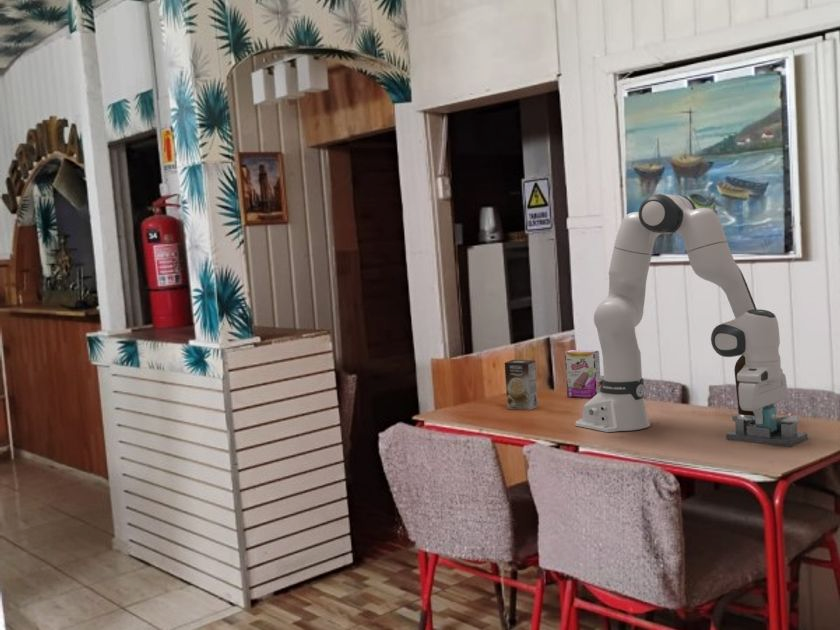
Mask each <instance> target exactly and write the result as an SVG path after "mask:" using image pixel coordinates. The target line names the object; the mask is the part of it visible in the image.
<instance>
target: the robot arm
mask: <svg viewBox="0 0 840 630" xmlns="http://www.w3.org/2000/svg"><path fill="white" fill-rule="evenodd" d="M661 234H664V235H667V234H677V235H679V236H680V237H681V239H682V241H683V243H684V247H685V250H686V253H687V258H688V262H689V264H690V267H691V268H692V270H693V272H694V274H695V275H696V276H698V277H699V278H701V279H703V280H705V281H707V282H710V283H712V284H715V285H716V286H718V287H720V288H721V290H722V291H724V294H725V295H726V298H727V301H728V302H729V306H730V308H731V311H732V314H733V316H734V319H732V320H729V321H726V322H723V323H720V324H718V325H716V326H715V327H714V328H713V329H712V331H711V336H710V343H711V346H712V349H713V350H714V352H715V353H716V354H717V355H719V356H721V357H722V358H723V357H724V358H726V357H727V358H734V357H741V356H742V355H743V356H745V365H744V367H743V368H742V369H741V370H740V371H739V372H738V374H737V380H738V381H741V382H740V383H739V404H740V407H741V409H742V410H745V411H753V413H754V415H755V417H756V423H757V424H763V423H764V422H765V417H763V414H762V411H763V407H765V406H768V407H776V408H777V403H778V402H781V401H783V400H784V401H785V399H787V397H788V384H787V377H786V375H785V373H784V372H783V369H782V367H781V356H780V351H779V348H780V342H781V341H780V327H779V322H778V321H779V320H778V318H777V316H776V314H775V313H773V312H772V311H770V310H765V309H761V308H760V309H759V308H757V307H756V306H757V305H756V304H755V301H754V299H753V297H752V293H751V291H750V289H749V285H748V283H747V281H746V279H745V276H744V274H743V271H742V270H741V268H740V267H739V266H738V264H737V262H736V261H735V259H734V256H733V255H732V252H731V249H730V246H729V243H728V240H727V236H726V233H725V231H724V228H723V225H722V223H721V220H720V219H719V217H718V214H717V213H716V212H715V211H714V210H713V209H711V208H707V207H698V208H697V207H696V205H695V203H694V202H693V201H692V200H691V199H690V198H688V197H687V196H684V195H679V194H675V193H674V194H673V193H664V194H662V193H661V194H659V193H658V194H654V195H651V196H648V197H647V198H646V199H644V201H642V202H641V204H640V206H639V209H638V211H634V212H629V213H627V214H626V215H625V216H624V217H623V219H622V221H621V223H620V226H619V228H618V231H617V234H616V238H615V240H614V246H613V250H612V255H611V258H610V263H609V267H608V268H609V270H608V278H609V279H608V281H609V282H608V294H607V298H606V299H605V300H603V301H601V302H600V303H599V305H598V306H597V308H596V309H595V311H594V313H593V322H594V325H595V327H596V330H597V335H598V341H599V344H600V349H601V355H602V365H603V366H602V367H603V370H602V371H603V379H602V380H601V382H598V383H599V384H598V383H597V384H598V385H597V386H601V387H600V392H599V393H598V394H596V395H595V396H594V397H593V398H590V400H588V401H586V403H585V404H584V405H583V409H582V418H580V419H577V420H576V421H575V427H576V426H577V427H581V428H585V429H590V430H594V431H595V430H596V431H600V432H605V433H612V432H613V433H614V432H629V431H638V430H643V429H646V428H649V427H650V426H651V423H650V420H649V416H648V413H647V410H646V404H645V383H644V378H643V374H642V373H643V371H642V354H641V353H642V352H641V350H640V348H639V344H638V339H637V334H636V327H637V326H638V325H639V324H640V323H641V321H642V320H643V316H644V310H645V309H644V308H645V298H646V287H647V281H648V280H647V279H648V273H649V270H650V264H651V260H652V255H653V251H654V244H655V242H656V240H657V237H659V236H660V235H661Z"/></svg>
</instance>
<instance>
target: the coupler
mask: <svg viewBox="0 0 840 630" xmlns="http://www.w3.org/2000/svg"><path fill="white" fill-rule="evenodd" d="M762 414H763V417H765V422H764V423H763V424H757V423H756V417H755V425H754V426H755V427H765V428H771V432H772V431H774V430H777V425H776V419H777V406H776V407H766V406H765V407H763V411H762Z"/></svg>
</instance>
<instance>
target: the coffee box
mask: <svg viewBox="0 0 840 630" xmlns="http://www.w3.org/2000/svg"><path fill="white" fill-rule="evenodd" d="M536 367H537V366H536V360H531V359H530V360H529V359H511V360H509V361H506V362H504V373H505V375H504V376H505V377H504V378H505V391H506V394H505V395H506V408H507V409H510V410H525V411H526V410H527V411H530V410H533V409H536V408H537V406H539V405H538V404H539V401H538V388H537V387H538V385H537V370H536Z"/></svg>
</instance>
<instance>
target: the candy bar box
mask: <svg viewBox="0 0 840 630" xmlns="http://www.w3.org/2000/svg"><path fill="white" fill-rule="evenodd" d="M564 357H565V358H564V359H565V376H566V377H565V379H566V393H567V395H566V396H567V398H570V399H571V398H575V399H577V398H578V399H579V398H581V399H592V398H593V397H594V396H595V395H596V394H598V393H599V392H600V387H601V386H597V385H598V384H599V383H598V382H601V381H602V380H601V379H602V378H601V366H600V365H601V364H600V362H601V361H600V350H591V349H590V350H584V349H583V350H581V349H570V350H567V351H564ZM597 383H598V384H597Z"/></svg>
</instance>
